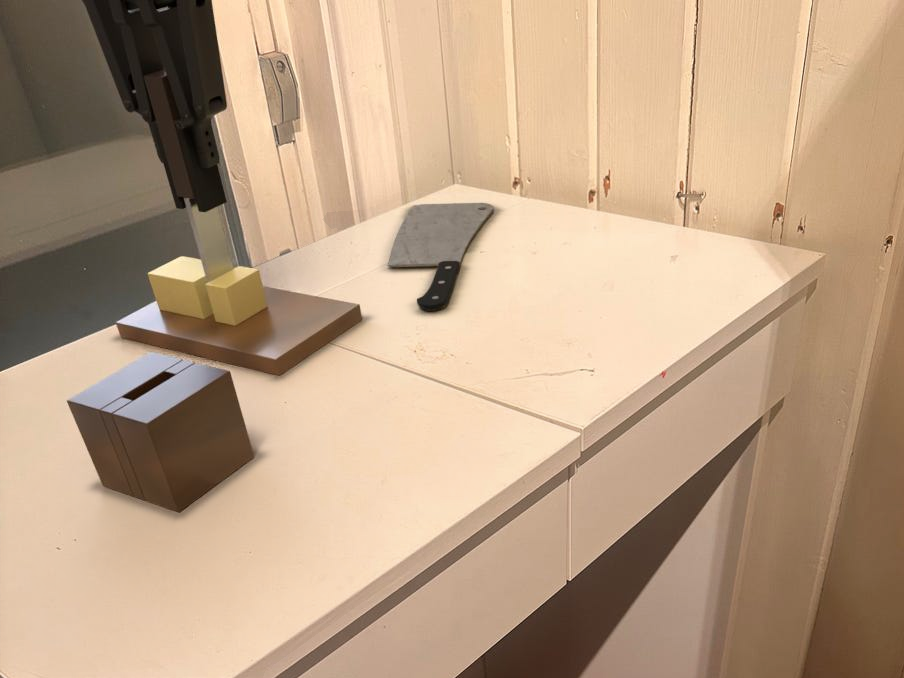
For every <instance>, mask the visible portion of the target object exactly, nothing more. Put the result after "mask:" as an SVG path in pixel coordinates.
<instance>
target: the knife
mask: <svg viewBox="0 0 904 678" xmlns="http://www.w3.org/2000/svg"><path fill="white" fill-rule="evenodd" d="M144 79H145V83H146V86H147V90H148V93H149V97H150V100H151V104H152V108H153V111H154V115H155V118H156V122H157V125H158V129H159V132H160V136H161V139H162V143H163V146H164V150H165V153H166V157H167V160H168V164H169V167H170V171H171V175H172V178H173V182H174V185H175V189H176V192H177V196H178V197H184V201H185V204H186V208H185V209H186V211H187V215H188V218H189V219H188V220H189V222H190V226H191V229H192V233H193V236H194V240H195V243H196V248H197V251H198V254H199V259H201V262H202V265H203V269H204V272H205V276H206V280H207V283H209V282H210V281H212V280H214V279H216V278H218V277H220V276H221V275H223V274H225V273H227V272H229V271H231V270H232V269H234V266H233V261H232V257H231V255H230V251H229V247H228V242H227V238H226V235H225V231H224V226H223V223H222V219H221V215H220V212H219V206H218V207H216V208H213V209H211V210H209V211H207V212H199V210H198V207H197V203H196V199H195V196H194V192H193V188H192V185H191V181H190V177H189V174H188V170H187V166H186V163H185V159H184V155H183V152H182V148H181V144H180V141H179V137H178V133H177V130H176V127H177V125H176V124H175V122H174V121H176V120H178V119H181V117H180V114H179V111H178V108H177V105H176V102H175V99H174V96H173V93H172V90H171V87H170V84H169V81H168V78H167V75H166V72H165V69H163V70H160V71H157V72H154V73H151V74H148V75H145V76H144ZM192 105H193V103H192Z"/></svg>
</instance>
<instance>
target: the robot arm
mask: <svg viewBox="0 0 904 678" xmlns="http://www.w3.org/2000/svg"><path fill="white" fill-rule="evenodd" d="M81 2H82V3H83V5H84V8H85V9H86V12H87V15H88V17H89V20H90V22H91V25H92V27H93V30H94V32H95V36H96V38H97V41H98V43H99V46H100V49H101V51H102V53H103V56H104V59H105V62H106V64H107V67H108V69H109V71H110V74H111V77H112V80H113V83H114V84H115V87H116V89H117V92H118V95H119V98H120V100H121V103H122V105H123V107H124V110H126V111H127V112H128V113H130V114H132V113H134V112H135V113H137V114H138V115H139V116H140V117H141V118H142V120H144V122H146V123H147V124H148V128H149V131H150V134H151V136H152V137H151V138H152V141H153V143H154V148H155V151H156V154H157V158H158V159H159V161H160V163H161V164H163V168H164V170H165V171H164V172H165V174H166V177H167V182H168V185H169V188H170V192H171V196H172V198H173V202H174V206H175V209H180V210H184V209H187V208H186V204H185V201H184V197H178V196H177V192H176V189H175V185H174V182H173V178H172V175H171V171H170V167H169V164H168V160H167V157H166V153H165V150H164V146H163V143H162V139H161V136H160V132H159V129H158V125H157V122H156V118H155V115H154V111H153V108H152V104H151V100H150V97H149V93H148V90H147V86H146V83H145V79H144V76H145V75H148V74H151V73H154V72H157V71H160V70H163V69H165V72H166V75H167V78H168V81H169V84H170V87H171V90H172V93H173V96H174V99H175V102H176V105H177V108H178V111H179V114H180V117H181V119H178V120H176V121H174V122H175V124H176V125H177V127H176V130H177V133H178V137H179V141H180V144H181V148H182V152H183V155H184V159H185V163H186V166H187V170H188V174H189V177H190V181H191V185H192V188H193V192H194V196H195V199H196V203H197V207H198V210H199V212H207V211H209V210H211V209H213V208H216V207H218V208H219V207H220V206H223V205H224V204H226V203H227V201H228V200H227V197H226V193H225V190H224V189H225V188H224V185H223V182H222V181H223V180H222V177H221V173H220V170H219V169H220V168H219V166H218V164H220V152H219V150H218V146H217V141H216V137H215V133H214V128H213V126H212V119H213V117H214V116H216V115H217V114H220V113H222V112H224V111H225V110H227V108H228V101H227V95H226V94H227V93H226V88H225V82H224V74H223V68H222V60H221V54H220V48H219V41H218V34H217V28H216V27H217V26H216V21H215V14H214V6H213V0H81ZM134 91H135V92H134ZM192 103H193V105H192Z"/></svg>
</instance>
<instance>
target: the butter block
mask: <svg viewBox="0 0 904 678" xmlns="http://www.w3.org/2000/svg"><path fill="white" fill-rule="evenodd" d="M147 276H148V280H149V282H150V285H151V289H152V292H153V295H154V297H155V301H157V304H158V307H159V310H164V311H168V312H173V313H178V314H182V315H187V316H191V317H196V318H201V319H206V318H207V317H209V316H211V315H213V310H212V306H211V303H210V299H209V296H208V292H207V289H206V285H205V284H207V280H206V276H205V272H204V269H203V265H202V262H201V258H196V257H195V258H194V257H190V256H189V257H188V256H185V255H184V256H183V255H180V256H179V257H177V258H175V259H173V260H170V261H169V262H167V263H165V264H163V265H161V266H159V267H157V268H155V269H153V270H151V271H149V272H147Z"/></svg>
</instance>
